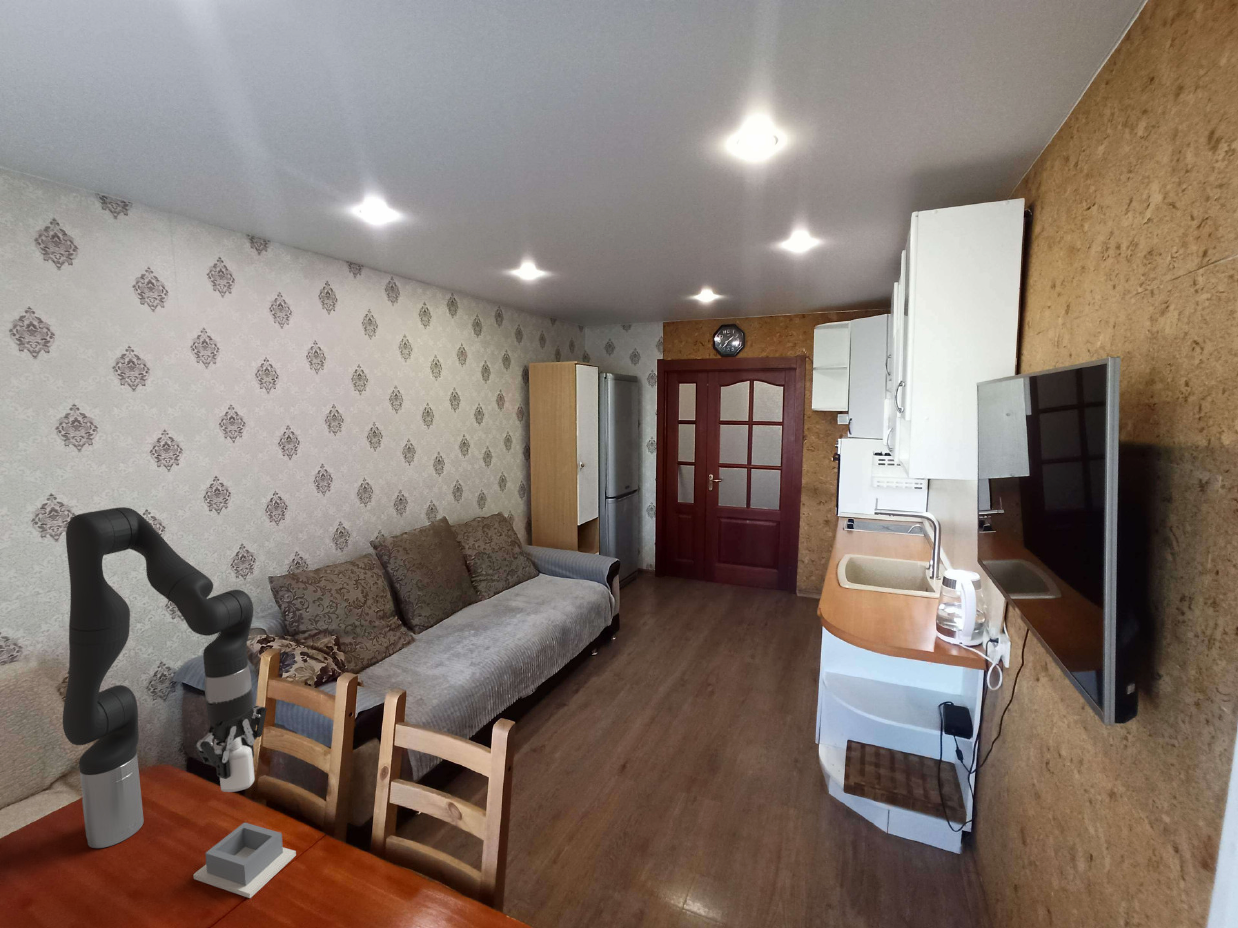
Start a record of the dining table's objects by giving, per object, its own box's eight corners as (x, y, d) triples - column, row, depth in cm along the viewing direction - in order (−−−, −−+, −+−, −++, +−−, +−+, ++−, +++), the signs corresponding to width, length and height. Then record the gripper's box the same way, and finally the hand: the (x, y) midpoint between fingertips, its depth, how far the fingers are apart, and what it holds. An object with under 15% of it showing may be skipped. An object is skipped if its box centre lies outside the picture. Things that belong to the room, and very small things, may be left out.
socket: (193, 878, 109) (191, 854, 108) (242, 838, 119) (241, 816, 118) (250, 898, 105) (248, 872, 104) (295, 855, 115) (294, 831, 114)
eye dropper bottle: (237, 796, 107) (232, 740, 106) (217, 790, 109) (212, 735, 107) (258, 782, 111) (253, 727, 110) (238, 776, 113) (233, 723, 112)
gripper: (248, 671, 116) (254, 745, 117) (177, 706, 102) (186, 789, 104) (275, 675, 113) (281, 751, 115) (206, 712, 100) (215, 797, 102)
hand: (236, 769), depth 109 cm, fingers closed on eye dropper bottle, 4 cm apart
